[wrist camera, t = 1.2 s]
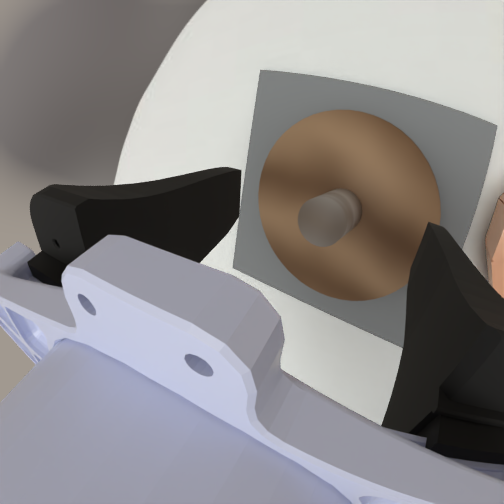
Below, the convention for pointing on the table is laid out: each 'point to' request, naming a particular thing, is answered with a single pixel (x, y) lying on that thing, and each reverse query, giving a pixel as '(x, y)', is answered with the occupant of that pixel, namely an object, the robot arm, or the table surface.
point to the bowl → (496, 248)
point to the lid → (347, 203)
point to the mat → (400, 115)
